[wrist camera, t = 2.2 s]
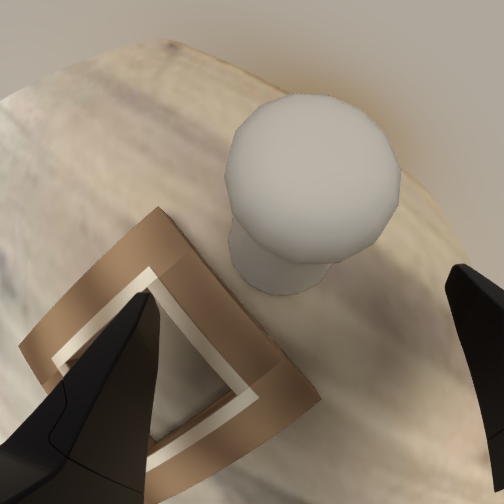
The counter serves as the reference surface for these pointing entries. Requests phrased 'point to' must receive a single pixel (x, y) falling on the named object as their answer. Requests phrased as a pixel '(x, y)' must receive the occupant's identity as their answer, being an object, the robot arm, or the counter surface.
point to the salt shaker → (306, 190)
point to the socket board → (202, 338)
